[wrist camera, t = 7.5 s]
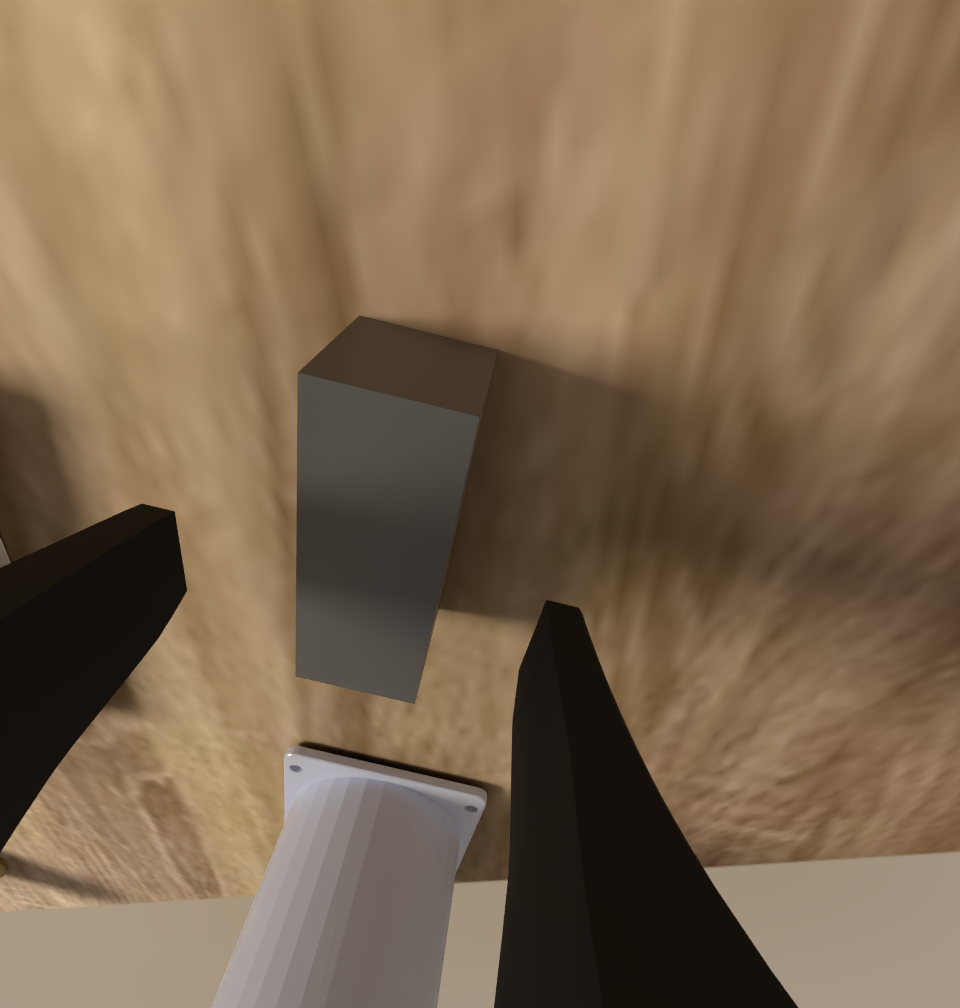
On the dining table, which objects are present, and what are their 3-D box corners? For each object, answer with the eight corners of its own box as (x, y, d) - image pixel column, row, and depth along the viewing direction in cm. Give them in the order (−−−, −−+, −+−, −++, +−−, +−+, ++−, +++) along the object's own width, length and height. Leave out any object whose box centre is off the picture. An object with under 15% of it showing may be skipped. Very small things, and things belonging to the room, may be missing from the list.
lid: (594, 701, 19) (602, 821, 15) (169, 602, 18) (86, 703, 15) (855, 233, 10) (998, 283, 7) (61, 33, 10) (-188, -16, 7)
